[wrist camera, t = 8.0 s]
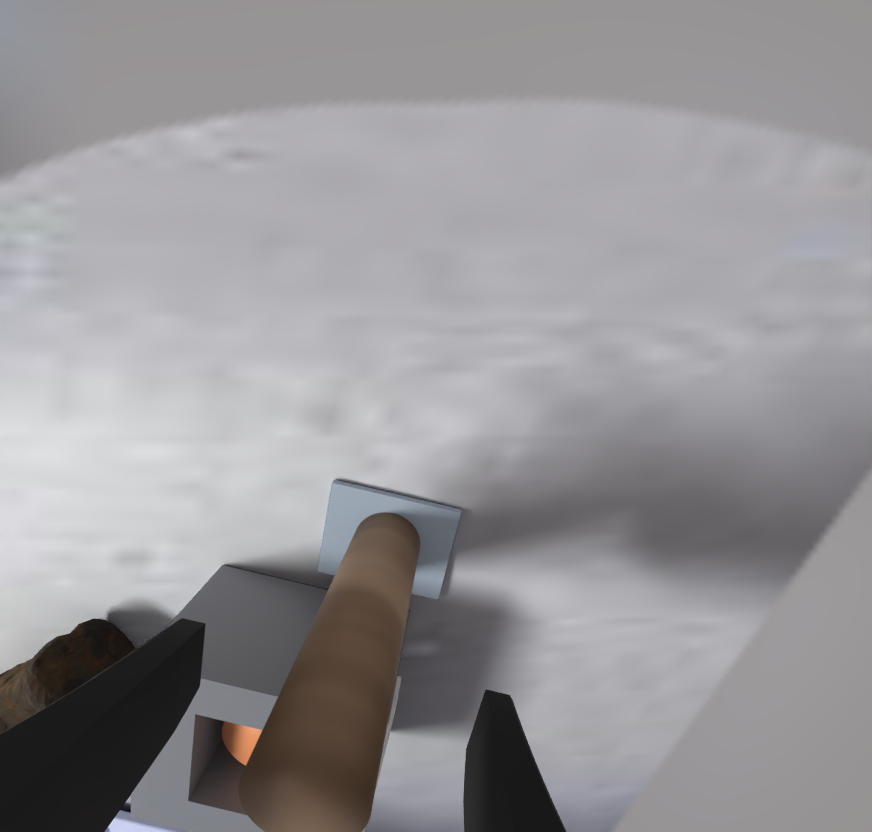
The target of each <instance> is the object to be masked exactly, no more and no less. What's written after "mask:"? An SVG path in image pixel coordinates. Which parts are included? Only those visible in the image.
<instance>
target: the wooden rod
mask: <svg viewBox="0 0 872 832" xmlns="http://www.w3.org/2000/svg"><path fill="white" fill-rule="evenodd" d="M419 551H420V537H419V534H418V532H417V530H416V528H415V527H414V526H413V525H412V523H410V522H409V521H408V520H407V519H405V518H404V517H402V516H400V515H397V514H394V513H386V512H383V513H376V514H373V515H371V516H368V517H367V518H365V519H364V520H363V521H362V522H361V523H360V524H359V526H358V527H357V529H356V531H355V533H354V536H353V538H352V540H351V542H350V544H349V546H348V548H347V551H346V553H345V555H344V557H343V559H342V561H341V563H340V566H339V568H338V570H337V572H336V574H335V576H334V578H333V580H332V583H331V585H330V587H329V589H328V591H327V593H326V595H325V598H324V600H323V602H322V604H321V606H320V608H319V610H318V613H317V615H316V617H315V619H314V621H313V623H312V625H311V627H310V630H309V632H308V634H307V636H306V638H305V640H304V642H303V645H302V647H301V649H300V651H299V653H298V655H297V657H296V660H295V662H294V664H293V666H292V668H291V670H290V672H289V674H288V677H287V679H286V681H285V683H284V685H283V687H282V689H281V692H280V694H279V696H278V698H277V700H276V702H275V704H274V707H273V709H272V711H271V713H270V715H269V717H268V719H267V721H266V724H265V726H264V728H263V730H262V732H261V734H260V736H259V739H258V741H257V743H256V745H255V747H254V749H253V751H252V754H251V756H250V758H249V760H248V762H247V764H246V766H245V768H244V771H243V773H242V775H241V777H240V780H239V785H238V793H239V799H240V802H241V805H242V807H243V809H244V811H245V812H246V814H247V815H248V817H249V818H250V819H251V820H252V821H253V822H254V823H255V824H256V825H257V826H258V827H259V828H260V829H262V830H263V831H264V832H362V831H363V830H364V828H365V827H366V825H367V823H368V821H369V819H370V815H371V810H372V804H373V799H374V793H375V788H376V783H377V777H378V772H379V766H380V761H381V756H382V750H383V745H384V740H385V734H386V729H387V723H388V718H389V713H390V707H391V702H392V697H393V691H394V686H395V680H396V675H397V670H398V664H399V659H400V654H401V648H402V643H403V637H404V632H405V627H406V621H407V616H408V610H409V605H410V600H411V594H412V589H413V584H414V578H415V573H416V567H417V562H418V557H419Z"/></svg>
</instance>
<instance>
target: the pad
mask: <svg viewBox="0 0 872 832" xmlns="http://www.w3.org/2000/svg"><path fill="white" fill-rule="evenodd" d="M383 512H386V513H394V514H397V515H400V516H402V517H404V518H405V519H407V520H408V521H409V522H410V523H412V525H413V526H414V527H415V528H416V530H417V532H418V534H419V537H420V551H419V557H418V562H417V567H416V573H415V578H414V584H413V589H412V594H415V595H419V596H423V597H427V598H432V599H436V600H438V598H439V594H440V591H441V587H442V583H443V579H444V576H445V572H446V568H447V564H448V561H449V557H450V553H451V549H452V546H453V542H454V538H455V534H456V531H457V527H458V523H459V519H460V516H461V509H457V508H453V507H449V506H445V505H440V504H436V503H432V502H428V501H423V500H419V499H415V498H411V497H406V496H402V495H398V494H394V493H389V492H385V491H381V490H377V489H372V488H368V487H364V486H360V485H355V484H351V483H347V482H343V481H338V480H334V481H333V482H332V485H331V491H330V497H329V503H328V509H327V515H326V521H325V527H324V533H323V539H322V545H321V551H320V557H319V563H318V569H317V571H318V572H322V573H326V574H330V575H334V576H335V574H336V572H337V570H338V568H339V566H340V563H341V561H342V559H343V557H344V555H345V553H346V551H347V548H348V546H349V544H350V542H351V540H352V538H353V536H354V533H355V531H356V529H357V527H358V526H359V524H360V523H361V522H362V521H363V520H364V519H365V518H367V517H368V516H371V515H373V514H376V513H383Z"/></svg>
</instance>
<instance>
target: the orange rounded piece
mask: <svg viewBox="0 0 872 832" xmlns="http://www.w3.org/2000/svg"><path fill="white" fill-rule="evenodd" d="M261 732H262V730H259V729H255V728H251V727H247V726H243V725H238V724H234V723H230V722H226V721H224V723H223V726H222V738H223V741H224V744H225V746H226V748H227V749H228V751H229V752H230V753H231V755H232V756H233V757H234V758H236V759H237V760H238V761H239V762H241V763H242V764H244V765H245V766H246V764H247V762H248V760H249V758H250V756H251V754H252V751H253V749H254V747H255V745H256V743H257V741H258V739H259V736H260V734H261Z"/></svg>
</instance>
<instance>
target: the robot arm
mask: <svg viewBox="0 0 872 832" xmlns="http://www.w3.org/2000/svg"><path fill="white" fill-rule="evenodd" d="M205 625H206V623H201V622H197V621H193V620H189V619H184V618H181V619H180V620H178V621H176V622H175V623H173V624H172V625H170V626H169V627H167V628H166V629H165V630H163V631H162V632H160V633H159V634H157V635H156V636H154V637H153V638H152V639H150V640H149V641H147V642H146V643H144V644H143V645H141V646H140V647H138V648H137V649H136V650H134V651H133V652H131V653H130V654H128V655H127V656H125V657H124V658H122V659H121V660H119V661H118V662H116V663H115V664H113V665H112V666H110V667H109V668H107V669H106V670H104V671H103V672H101V673H100V674H98V675H97V676H95V677H93V678H92V679H90V680H89V681H87V682H86V683H84V684H83V685H81V686H80V687H78V688H76V689H75V690H73V691H72V692H70V693H68V694H67V695H65V696H63V697H62V698H60V699H58V700H57V701H55V702H54V703H52V704H50V705H49V706H47V707H45V708H44V709H42V710H40V711H39V712H37V713H36V714H34V715H32V716H31V717H29V718H27V719H25V720H24V721H22V722H20V723H18V724H17V725H15V726H13V727H12V728H10V729H8V730H6V731H4V732H3V733H1V734H0V832H190V831H186V830H182V829H178V828H174V827H170V826H166V825H161V824H157V823H153V822H149V821H145V820H141V819H136V818H132V817H130V815H131V813H130V812H126V811H122V810H120V809H121V808H122V806H123V805H124V804H125V802H126V801H127V799H128V798H129V796H130V795H131V794H132V792H133V791H134V789H135V788H136V786H137V785H138V784H139V782H140V781H141V779H142V778H143V776H144V775H145V774H146V772H147V771H148V769H149V768H150V766H151V765H152V764H153V762H154V761H155V759H156V758H157V756H158V755H159V753H160V752H161V751H162V749H163V748H164V746H165V745H166V743H167V742H168V740H169V739H170V738H171V736H172V735H173V733H174V732H175V730H176V728H177V726H178V725H179V723H180V721H181V720H182V718H183V716H184V714H185V713H186V711H187V709H188V707H189V705H190V704H191V702H192V700H193V698H194V696H195V695H196V693H197V691H198V689H199V687H200V681H201V670H202V659H203V648H204V637H205ZM464 832H566V830H565V828H564V826H563V823H562V821H561V819H560V817H559V815H558V813H557V810H556V808H555V806H554V804H553V802H552V799H551V797H550V795H549V792H548V790H547V788H546V785H545V783H544V781H543V778H542V776H541V774H540V772H539V769H538V767H537V764H536V762H535V759H534V757H533V754H532V752H531V749H530V747H529V744H528V741H527V739H526V736H525V734H524V731H523V728H522V726H521V723H520V720H519V717H518V714H517V712H516V709H515V706H514V703H513V700H512V698H511V697H510V695H507V694H503V693H498V692H494V691H490V690H485V693H484V696H483V699H482V702H481V705H480V709H479V712H478V715H477V718H476V721H475V724H474V727H473V730H472V733H471V736H470V739H469V742H468V745H467V748H466V762H465V779H464Z"/></svg>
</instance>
